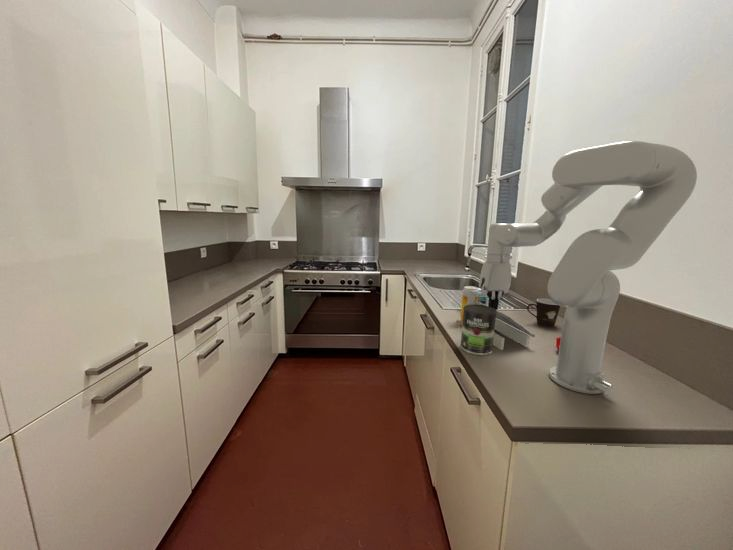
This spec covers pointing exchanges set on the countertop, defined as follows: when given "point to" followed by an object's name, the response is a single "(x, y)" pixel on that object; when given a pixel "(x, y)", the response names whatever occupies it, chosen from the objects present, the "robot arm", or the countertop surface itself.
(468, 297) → the beer can
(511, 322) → the cover
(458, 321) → the coaster
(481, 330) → the coffee can
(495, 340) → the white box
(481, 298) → the light bulb box
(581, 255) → the robot arm
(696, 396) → the countertop surface
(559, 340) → the apple
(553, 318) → the coffee mug
